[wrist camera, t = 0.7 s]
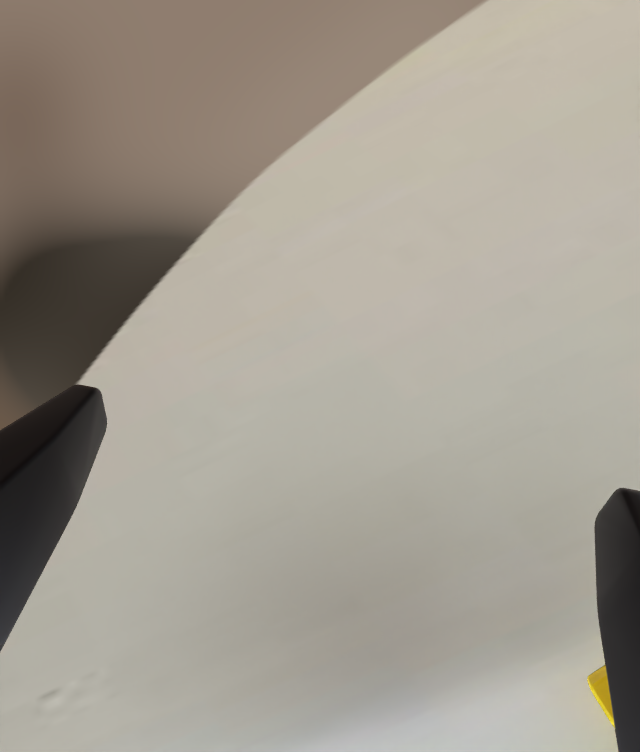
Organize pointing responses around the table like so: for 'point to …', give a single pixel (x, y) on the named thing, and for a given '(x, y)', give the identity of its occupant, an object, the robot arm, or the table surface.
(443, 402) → the table surface
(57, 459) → the robot arm
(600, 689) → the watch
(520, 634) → the table surface
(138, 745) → the table surface
